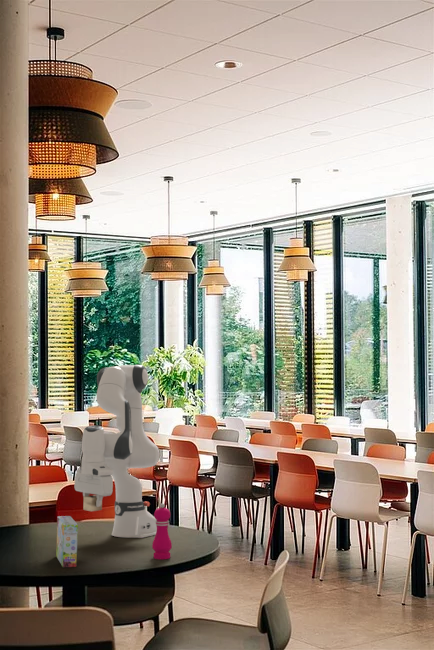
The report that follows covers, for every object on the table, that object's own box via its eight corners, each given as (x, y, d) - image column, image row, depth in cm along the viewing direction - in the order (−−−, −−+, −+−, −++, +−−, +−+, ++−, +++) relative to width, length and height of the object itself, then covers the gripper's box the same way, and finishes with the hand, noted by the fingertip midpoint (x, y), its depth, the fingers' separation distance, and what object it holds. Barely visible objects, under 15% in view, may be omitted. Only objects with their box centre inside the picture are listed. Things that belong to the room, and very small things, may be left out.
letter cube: (94, 508, 350) (94, 494, 350) (101, 510, 346) (102, 496, 346) (83, 509, 346) (83, 496, 347) (91, 511, 343) (91, 497, 343)
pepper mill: (156, 560, 333) (157, 505, 334) (149, 556, 339) (149, 502, 340) (174, 558, 336) (175, 504, 337) (166, 555, 343) (167, 501, 344)
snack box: (78, 567, 321) (78, 524, 322) (62, 568, 319) (62, 524, 320) (70, 555, 341) (70, 515, 342) (55, 556, 340) (55, 515, 341)
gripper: (70, 467, 352) (70, 503, 352) (102, 472, 338) (101, 509, 337) (84, 465, 357) (83, 501, 356) (115, 470, 342) (115, 507, 341)
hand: (92, 505), depth 346 cm, fingers closed on letter cube, 5 cm apart
